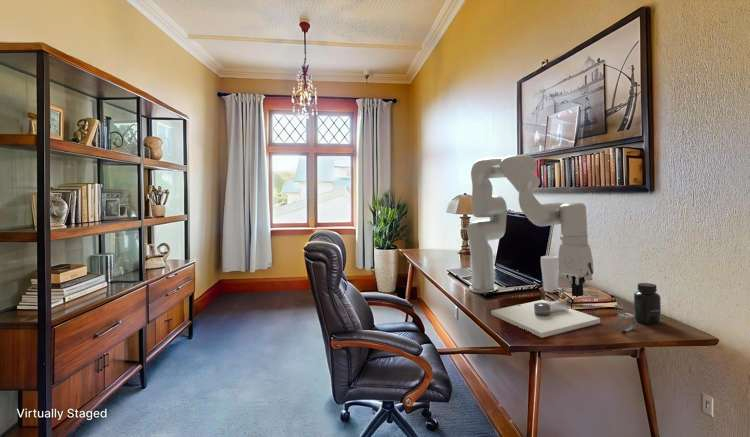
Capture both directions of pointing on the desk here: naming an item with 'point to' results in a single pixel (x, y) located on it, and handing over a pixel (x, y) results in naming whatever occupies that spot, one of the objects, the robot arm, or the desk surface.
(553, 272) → the drinking glass
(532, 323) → the dial plate
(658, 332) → the desk surface
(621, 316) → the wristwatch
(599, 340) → the desk surface
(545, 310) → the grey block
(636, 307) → the supplement bottle
